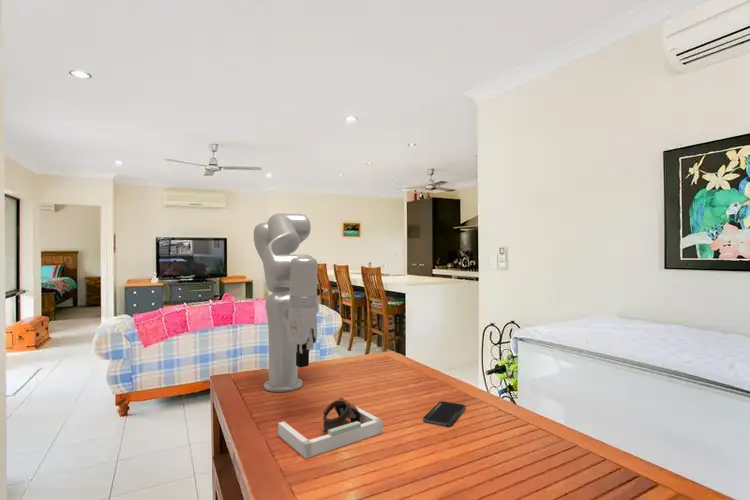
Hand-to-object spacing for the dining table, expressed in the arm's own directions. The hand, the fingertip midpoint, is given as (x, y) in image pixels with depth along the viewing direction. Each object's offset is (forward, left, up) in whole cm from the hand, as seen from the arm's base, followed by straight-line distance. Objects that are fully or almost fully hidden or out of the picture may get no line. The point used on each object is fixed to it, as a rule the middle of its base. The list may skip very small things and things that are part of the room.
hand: (302, 365), depth 115 cm
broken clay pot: (+16, +3, -13) cm, 21 cm away
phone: (+26, +30, -13) cm, 42 cm away
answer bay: (+18, -1, -13) cm, 22 cm away
